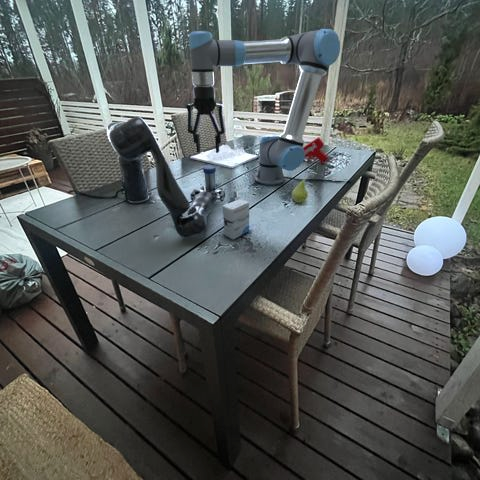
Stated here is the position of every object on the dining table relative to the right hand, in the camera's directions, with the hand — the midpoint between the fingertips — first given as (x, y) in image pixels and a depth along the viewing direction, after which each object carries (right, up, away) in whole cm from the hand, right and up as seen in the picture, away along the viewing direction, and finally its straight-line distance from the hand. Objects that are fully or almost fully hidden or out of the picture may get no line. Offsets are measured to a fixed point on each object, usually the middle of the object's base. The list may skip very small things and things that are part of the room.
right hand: (208, 151), depth 109 cm
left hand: (0, -13, +11) cm, 17 cm away
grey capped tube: (0, -19, +12) cm, 23 cm away
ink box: (+12, -33, -10) cm, 36 cm away
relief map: (+2, +19, +71) cm, 73 cm away
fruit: (+39, -19, +13) cm, 45 cm away
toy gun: (+57, +14, +63) cm, 86 cm away
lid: (0, -6, +4) cm, 7 cm away
